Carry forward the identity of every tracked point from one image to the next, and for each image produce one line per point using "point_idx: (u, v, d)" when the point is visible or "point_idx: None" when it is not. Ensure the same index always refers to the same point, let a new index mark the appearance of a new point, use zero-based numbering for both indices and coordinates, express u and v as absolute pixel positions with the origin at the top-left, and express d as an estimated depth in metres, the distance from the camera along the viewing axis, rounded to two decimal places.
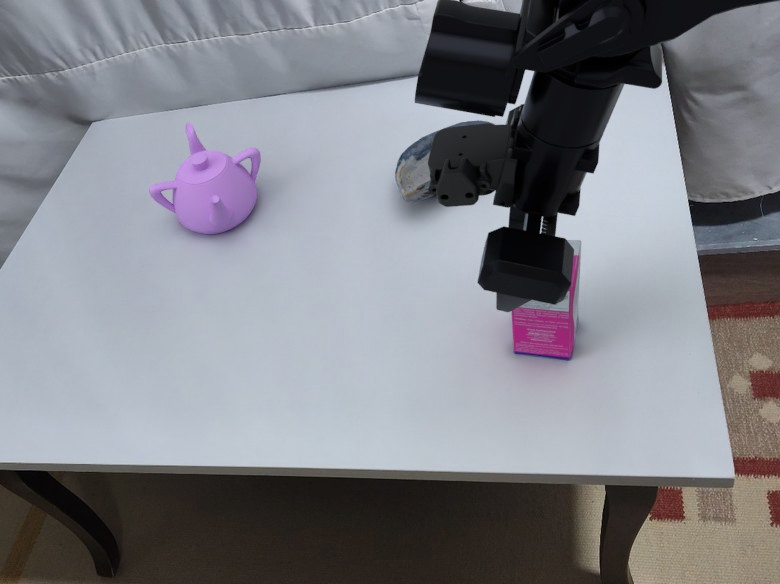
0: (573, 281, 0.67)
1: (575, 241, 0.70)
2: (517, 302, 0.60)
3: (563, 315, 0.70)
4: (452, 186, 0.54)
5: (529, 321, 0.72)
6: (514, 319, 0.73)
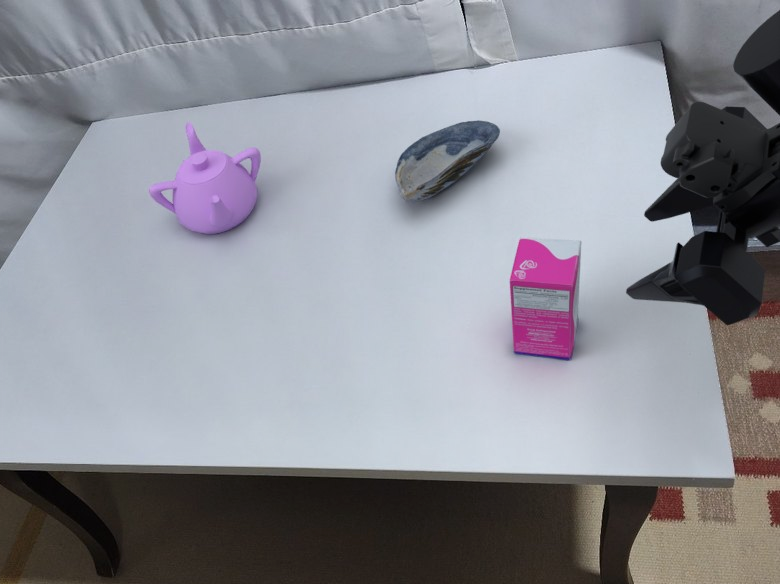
0: (573, 281, 0.67)
1: (575, 241, 0.70)
2: (657, 297, 0.60)
3: (563, 315, 0.70)
4: (709, 172, 0.51)
5: (529, 321, 0.72)
6: (514, 319, 0.73)
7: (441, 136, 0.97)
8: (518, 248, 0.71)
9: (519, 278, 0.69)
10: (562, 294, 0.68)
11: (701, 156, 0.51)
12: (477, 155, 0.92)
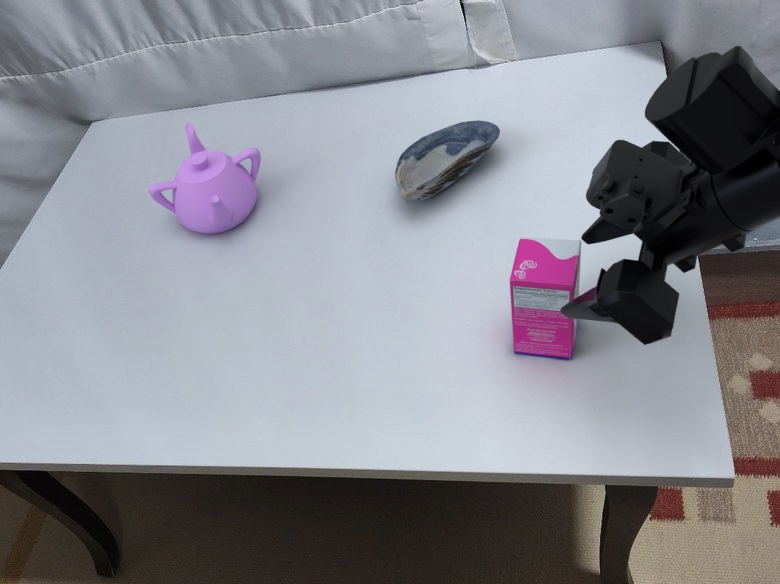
0: (573, 281, 0.67)
1: (575, 241, 0.70)
2: (587, 316, 0.65)
3: (563, 315, 0.70)
4: (625, 207, 0.56)
5: (529, 321, 0.72)
6: (514, 319, 0.73)
7: (441, 136, 0.97)
8: (518, 248, 0.71)
9: (519, 278, 0.69)
10: (562, 294, 0.68)
11: (618, 192, 0.56)
12: (477, 155, 0.92)
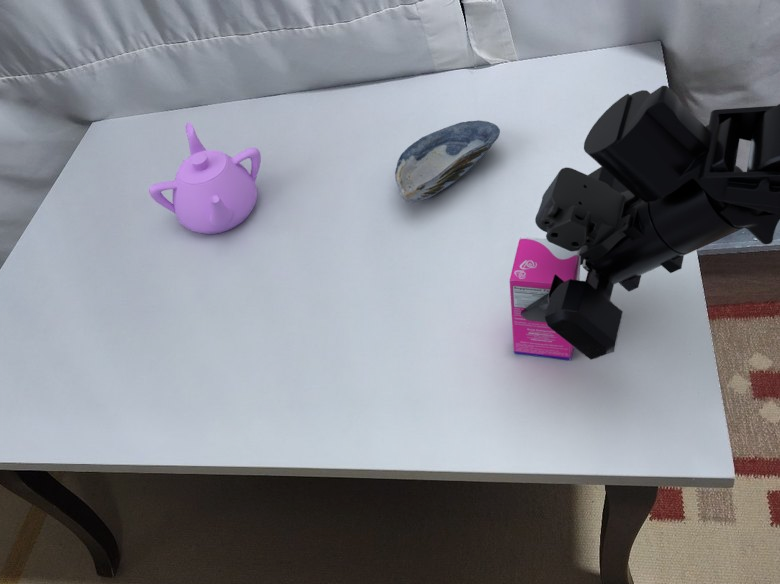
0: None
1: None
2: (545, 319, 0.70)
3: None
4: (568, 231, 0.60)
5: (529, 321, 0.72)
6: (514, 319, 0.73)
7: (441, 136, 0.97)
8: (518, 248, 0.71)
9: (519, 278, 0.69)
10: None
11: (562, 217, 0.60)
12: (477, 155, 0.92)
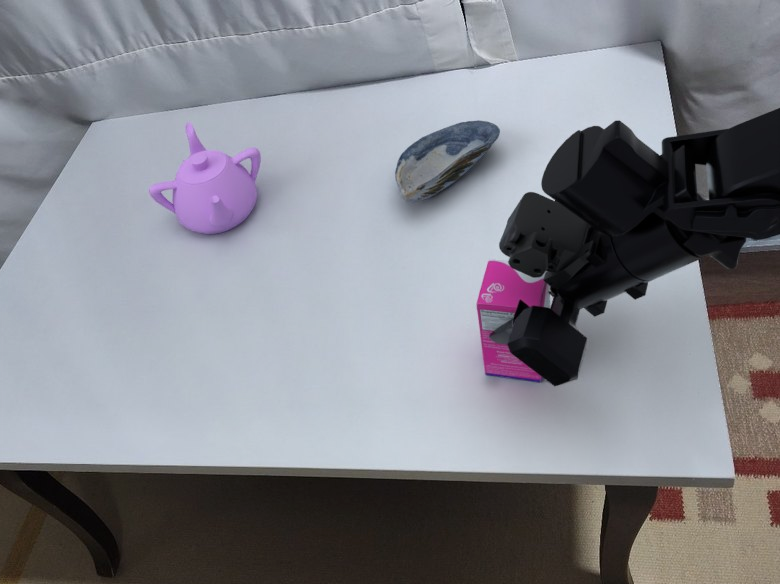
0: (540, 305, 0.66)
1: None
2: None
3: None
4: (530, 258, 0.59)
5: None
6: (483, 341, 0.72)
7: (441, 136, 0.97)
8: (486, 270, 0.70)
9: (486, 301, 0.68)
10: None
11: (523, 244, 0.59)
12: (477, 155, 0.92)
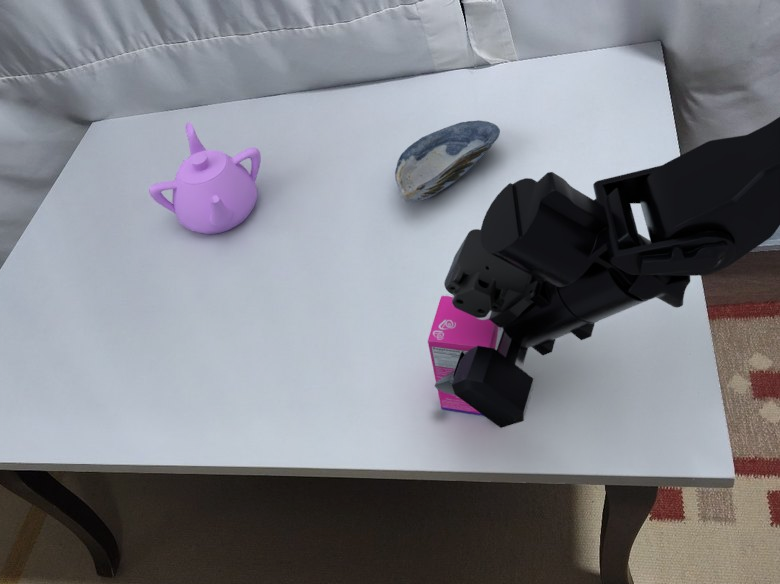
0: (491, 344, 0.65)
1: None
2: None
3: None
4: (473, 299, 0.58)
5: None
6: (437, 377, 0.71)
7: (441, 136, 0.97)
8: (439, 306, 0.69)
9: (437, 339, 0.67)
10: None
11: (466, 284, 0.58)
12: (477, 155, 0.92)
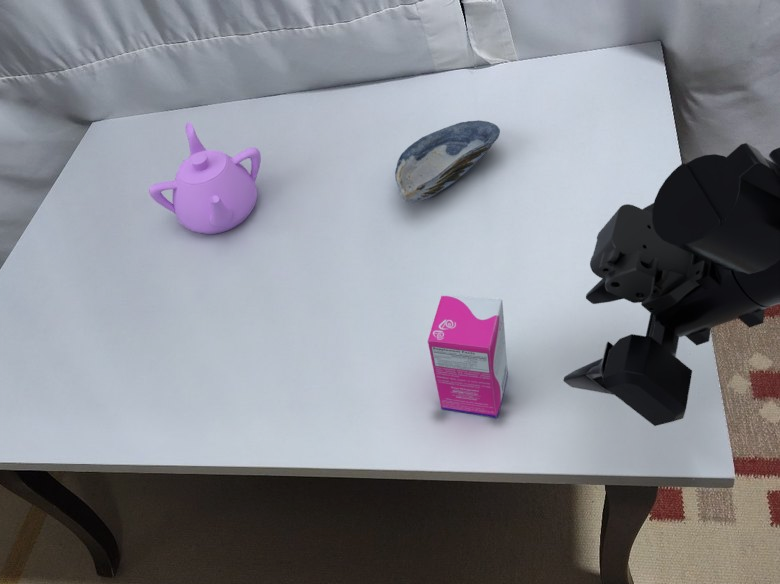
0: (491, 343, 0.65)
1: (496, 300, 0.68)
2: (592, 388, 0.61)
3: (484, 375, 0.68)
4: (633, 281, 0.51)
5: (451, 380, 0.70)
6: (437, 377, 0.71)
7: (441, 136, 0.97)
8: (439, 306, 0.69)
9: (437, 338, 0.67)
10: (480, 356, 0.66)
11: (625, 265, 0.51)
12: (477, 155, 0.92)
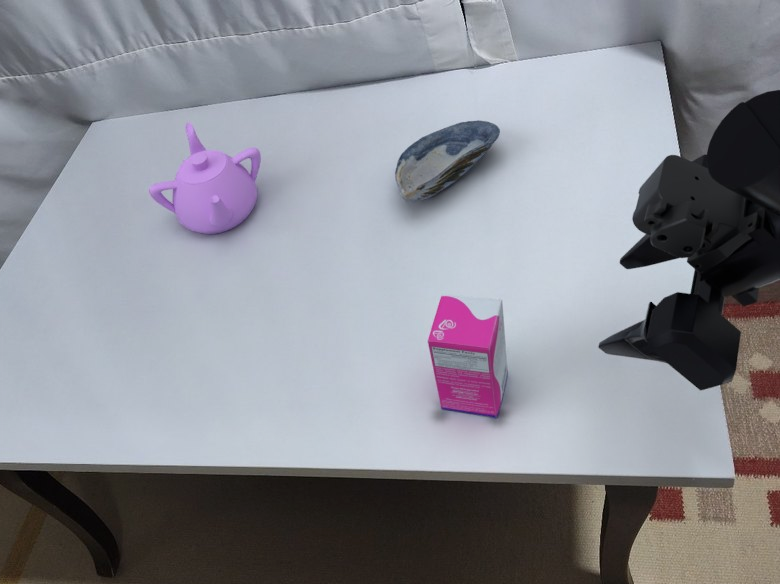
0: (491, 344, 0.65)
1: (496, 300, 0.68)
2: (630, 354, 0.57)
3: (484, 375, 0.68)
4: (682, 233, 0.48)
5: (451, 380, 0.70)
6: (437, 377, 0.71)
7: (441, 136, 0.97)
8: (439, 306, 0.69)
9: (437, 339, 0.67)
10: (480, 356, 0.66)
11: (673, 216, 0.48)
12: (477, 155, 0.92)
